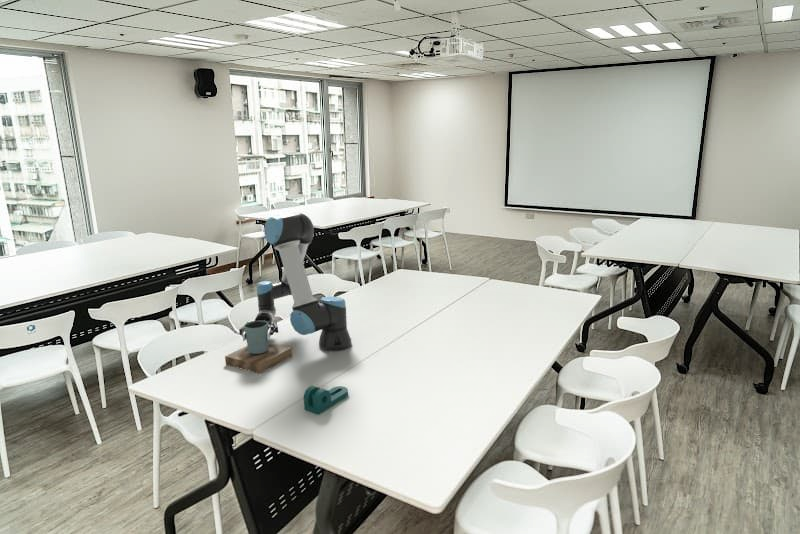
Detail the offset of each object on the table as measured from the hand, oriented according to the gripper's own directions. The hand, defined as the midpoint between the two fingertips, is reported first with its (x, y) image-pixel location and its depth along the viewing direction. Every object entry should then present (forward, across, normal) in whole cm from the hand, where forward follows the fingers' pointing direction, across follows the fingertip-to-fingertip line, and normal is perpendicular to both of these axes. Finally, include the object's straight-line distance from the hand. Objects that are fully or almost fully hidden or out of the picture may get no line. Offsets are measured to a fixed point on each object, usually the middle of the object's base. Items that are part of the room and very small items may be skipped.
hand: (255, 337), depth 216 cm
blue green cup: (-3, 0, -7) cm, 8 cm away
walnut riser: (-3, 0, -12) cm, 12 cm away
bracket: (+39, -32, -12) cm, 52 cm away
